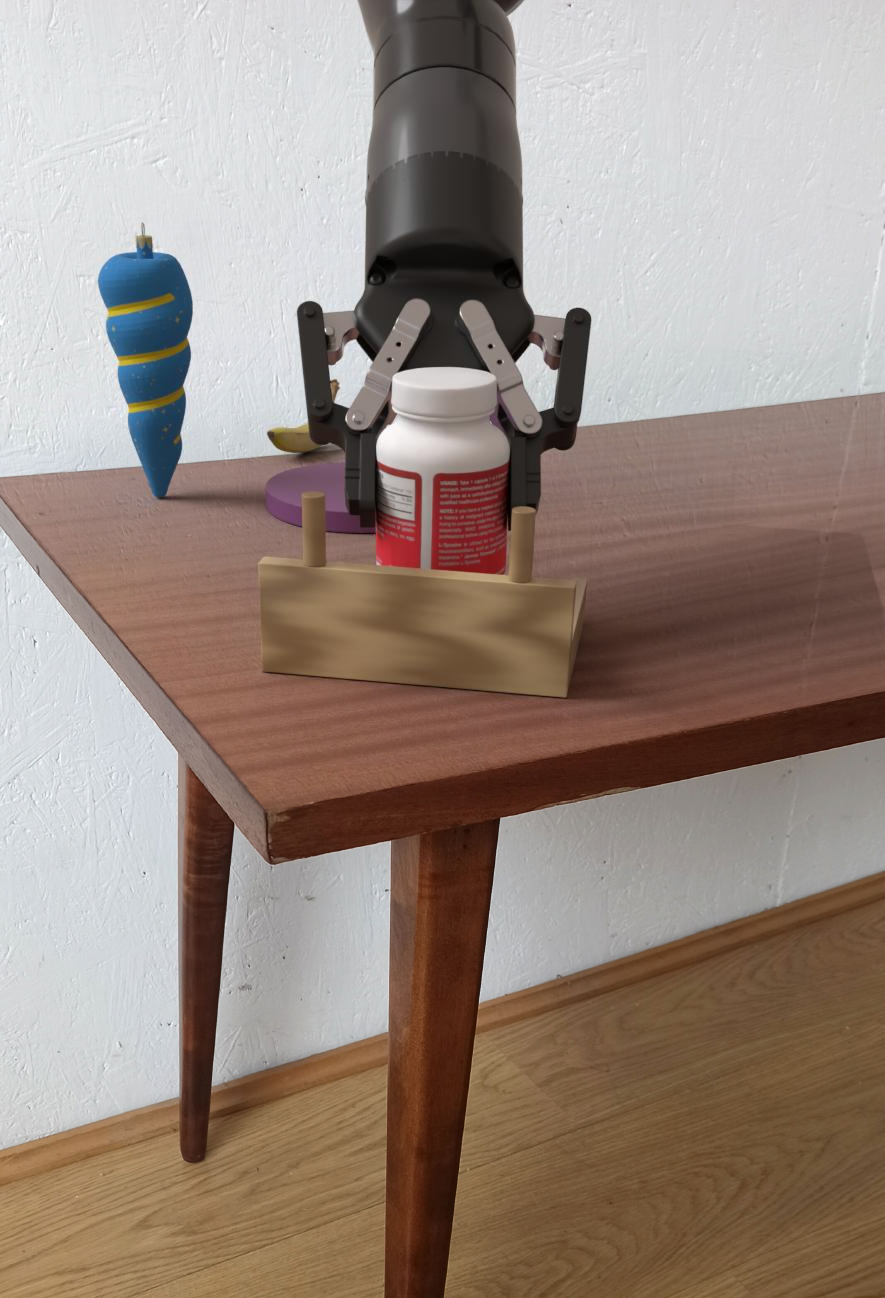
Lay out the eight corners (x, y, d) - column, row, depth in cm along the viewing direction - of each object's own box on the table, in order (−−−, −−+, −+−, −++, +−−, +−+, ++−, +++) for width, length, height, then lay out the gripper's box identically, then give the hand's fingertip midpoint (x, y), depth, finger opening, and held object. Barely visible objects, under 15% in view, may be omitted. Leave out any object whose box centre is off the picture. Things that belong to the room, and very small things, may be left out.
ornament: (110, 507, 90) (85, 227, 82) (123, 484, 94) (100, 216, 86) (198, 509, 90) (182, 230, 82) (207, 485, 94) (192, 218, 86)
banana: (326, 436, 106) (325, 376, 104) (348, 440, 105) (347, 379, 103) (262, 461, 100) (260, 398, 97) (285, 465, 99) (283, 401, 97)
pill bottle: (516, 603, 75) (528, 368, 70) (486, 645, 70) (496, 396, 65) (396, 589, 77) (397, 358, 71) (358, 630, 72) (356, 384, 66)
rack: (583, 621, 76) (597, 457, 71) (566, 698, 67) (580, 516, 63) (312, 599, 77) (309, 437, 73) (261, 671, 69) (255, 493, 65)
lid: (461, 488, 96) (462, 468, 95) (433, 539, 86) (434, 518, 86) (290, 476, 97) (290, 456, 96) (245, 525, 88) (244, 504, 87)
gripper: (288, 141, 69) (278, 475, 66) (604, 149, 70) (611, 481, 66) (298, 252, 77) (290, 558, 73) (584, 258, 77) (590, 563, 73)
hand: (442, 520), depth 69 cm, fingers closed on pill bottle, 6 cm apart
